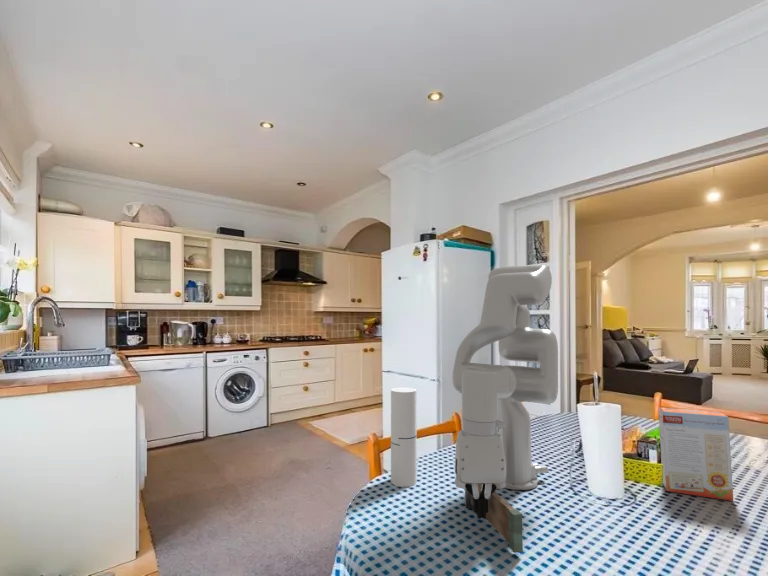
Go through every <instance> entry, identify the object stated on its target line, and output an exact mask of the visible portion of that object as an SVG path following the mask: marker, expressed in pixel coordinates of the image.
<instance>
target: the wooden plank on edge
mask: <svg viewBox="0 0 768 576" xmlns="http://www.w3.org/2000/svg"><path fill="white" fill-rule="evenodd" d="M477 485H478V491H479V494H480V493H481V489H482V484H477ZM471 504H472V505H473V496H472V495H471ZM485 520H487V522H488V523H489V524H490V525H491V526H492V527H493V528H494V529H495V530H496V531H497V532H498V533H499V534H500V535H501V536H502V538H504V539H505V541H506V540H507V541H508V542H507V541H506V542H507V543H508V546H509V547H508V548H509V549H510V550H511V551H512V552H513V553H515V554H517V553H522V552H524V549H523V548H524V547H523V546H524V545H523V543H524V541H523V513H522V512H521V511H520V510H518V509H516V508H515V507H514V506H512V505H511V504H510V503H508V502H507V501H506V500H505V499H504V498H503V497H502V496H500V495H499V494H498V493H497V492H496V490H495V491H494V492H493V493H492V494H491V495H490V498H489V499H488V513H486V519H485Z"/></svg>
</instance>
